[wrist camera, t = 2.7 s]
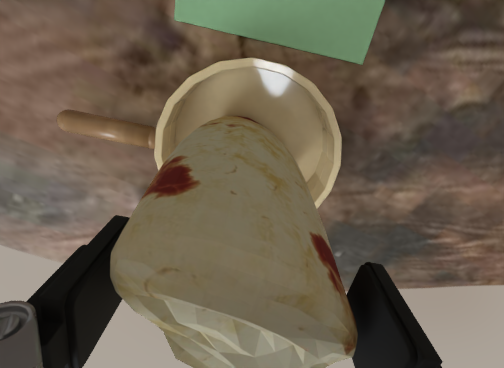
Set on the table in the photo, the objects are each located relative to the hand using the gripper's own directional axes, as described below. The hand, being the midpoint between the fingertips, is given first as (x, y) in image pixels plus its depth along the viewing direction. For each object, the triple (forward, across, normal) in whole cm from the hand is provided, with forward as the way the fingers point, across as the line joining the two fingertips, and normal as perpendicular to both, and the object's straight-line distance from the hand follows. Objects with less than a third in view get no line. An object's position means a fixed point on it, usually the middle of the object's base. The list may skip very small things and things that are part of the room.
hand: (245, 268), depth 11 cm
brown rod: (+14, +12, 0) cm, 18 cm away
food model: (+16, 0, 0) cm, 17 cm away
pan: (+17, 0, 0) cm, 17 cm away
